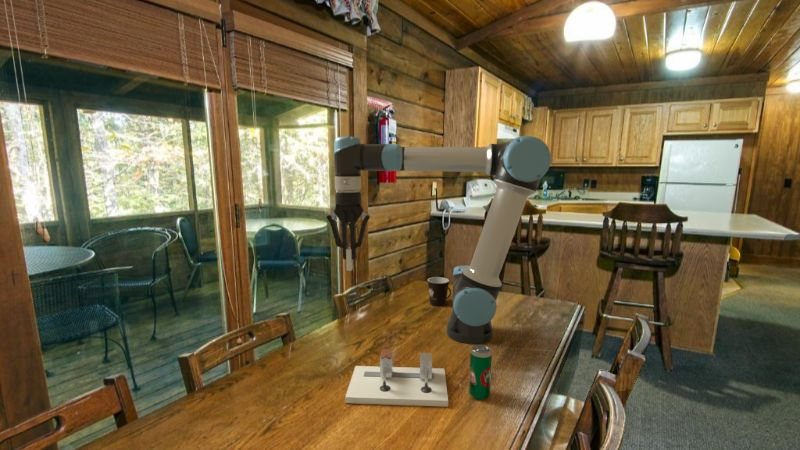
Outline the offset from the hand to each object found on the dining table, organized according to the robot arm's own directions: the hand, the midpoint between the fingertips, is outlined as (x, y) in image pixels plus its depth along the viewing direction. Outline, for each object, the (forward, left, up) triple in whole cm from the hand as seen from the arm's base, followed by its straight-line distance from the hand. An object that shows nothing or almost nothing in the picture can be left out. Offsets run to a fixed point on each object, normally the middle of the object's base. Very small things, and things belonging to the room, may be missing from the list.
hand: (349, 269), depth 112 cm
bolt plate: (-16, +22, -24) cm, 36 cm away
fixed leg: (-23, +21, -23) cm, 38 cm away
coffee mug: (-29, -36, -25) cm, 53 cm away
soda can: (-36, +24, -25) cm, 50 cm away
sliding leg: (-13, +21, -22) cm, 33 cm away
